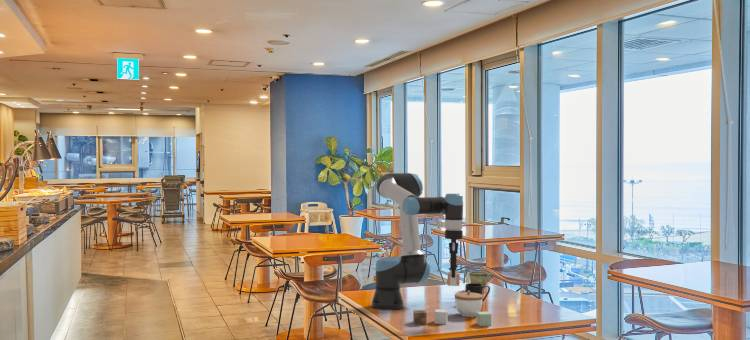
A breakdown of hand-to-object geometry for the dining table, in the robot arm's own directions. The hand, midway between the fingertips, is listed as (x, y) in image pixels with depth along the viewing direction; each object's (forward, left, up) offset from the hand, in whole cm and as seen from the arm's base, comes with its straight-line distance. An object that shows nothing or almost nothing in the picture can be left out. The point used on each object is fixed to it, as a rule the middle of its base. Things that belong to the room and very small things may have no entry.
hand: (453, 283), depth 273 cm
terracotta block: (0, 0, 0) cm, 0 cm away
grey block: (-5, 0, -17) cm, 18 cm away
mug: (+12, +40, -17) cm, 45 cm away
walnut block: (-14, -3, -17) cm, 22 cm away
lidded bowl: (+7, +16, -17) cm, 24 cm away
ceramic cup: (+15, +76, -17) cm, 79 cm away
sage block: (+13, -1, -17) cm, 21 cm away
